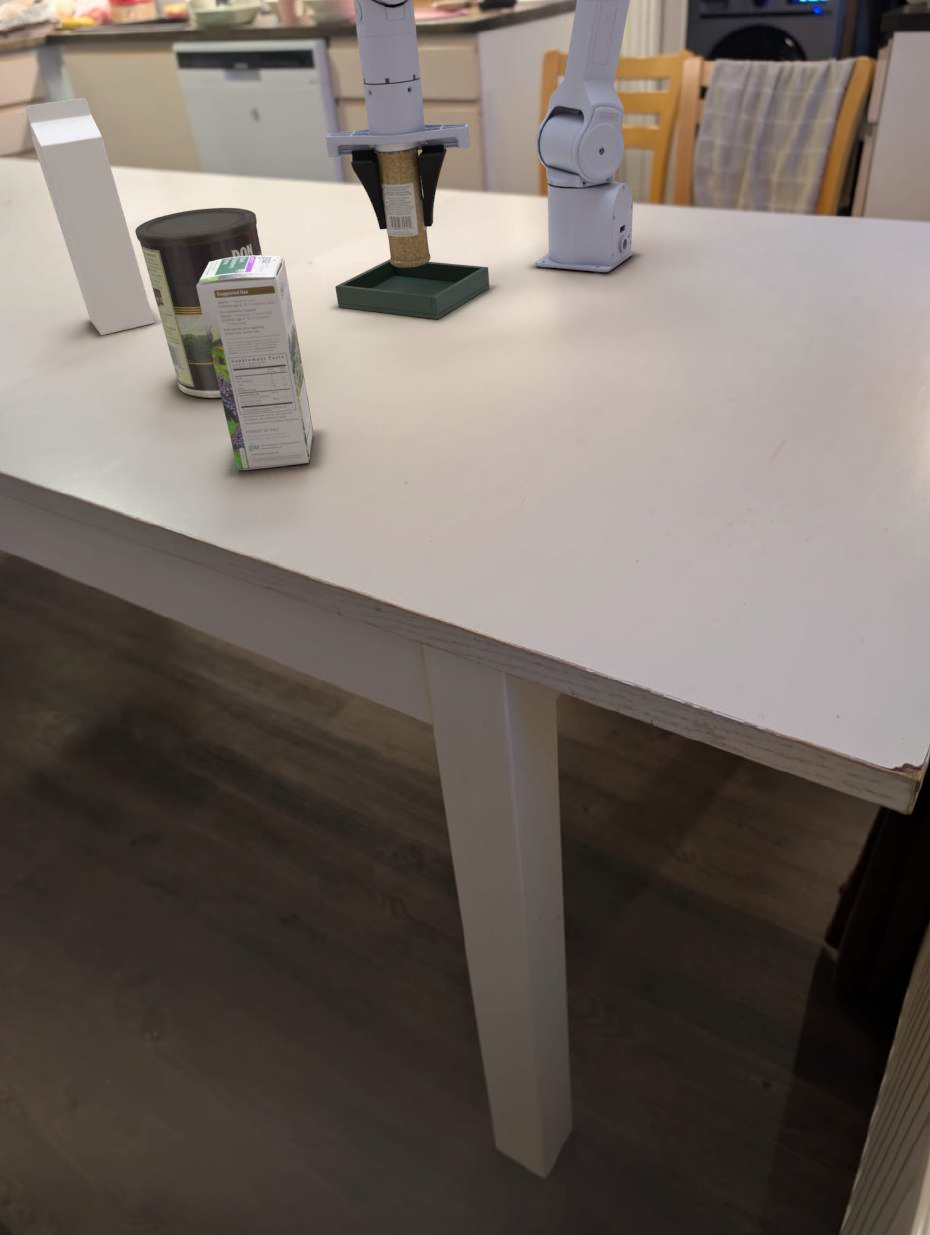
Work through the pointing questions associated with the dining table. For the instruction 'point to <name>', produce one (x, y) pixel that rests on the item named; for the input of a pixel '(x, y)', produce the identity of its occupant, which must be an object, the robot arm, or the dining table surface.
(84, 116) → the milk
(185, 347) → the coffee can
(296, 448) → the syrup box
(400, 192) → the sprinkles bottle
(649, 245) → the dining table surface
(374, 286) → the serving tray
